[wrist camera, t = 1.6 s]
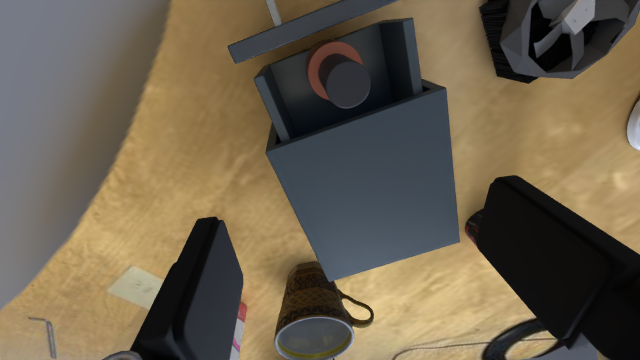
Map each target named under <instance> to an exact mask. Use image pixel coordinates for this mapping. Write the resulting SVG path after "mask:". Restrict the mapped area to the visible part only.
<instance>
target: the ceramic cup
mask: <svg viewBox="0 0 640 360" xmlns="http://www.w3.org/2000/svg"><path fill="white" fill-rule="evenodd" d="M342 299H348V300H350V301H351V302H352V303H354V304H356V305H359V306H361V307H364V308H366V309H367V310H369V311H370V313H371V317H370V318H369V319H368V320H358V319H355V318H353V317H352V316H351V315H350V314H349V312H348V311H347V310H346V309H345V308H344V306H343V303H342ZM373 319H374V313H373V310H372V309H371V308H370V307H369V306H368V305H366V304H364V303H361V302H359V301H356V300H354V299H353V298H351V297H350V296H348V295H345V294H343V293H342V292H341V291H340V290H339V289H337V287H336V284H335V282H334V281H331V282H329V281H328V279H327V277H326V275H325V273H324V271H323V269H322V267H321V265H320V264H319V263H317V262H310V263H306V264H301V265H297V266H296V268H295V269H294V270H293V271H292V272H291V274H290V275H289V276H288V280H287V284H286V289H285V293H284V297H283V302H282V307H281V310H280V313H279V317H278V322H277V326H276V331H275V338H274V345H275V348H276V350H277V351H278V353H279V354H281V355H282V356H283V357H285V358H287V359H289V360H329V359H332V358H335V357H337V356H339V355H341V354H342V353H344V352H345V351H346V350H347V349H348V348H349V347H350V346H351V344H352V343H353V340H354V331H353V329H352V327H353V326H354V327H357V328H365V327H368V326H369V325H371V324H372V322H373Z"/></svg>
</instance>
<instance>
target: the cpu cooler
mask: <svg viewBox="0 0 640 360" xmlns="http://www.w3.org/2000/svg"><path fill="white" fill-rule="evenodd" d="M488 1H489V2H487V3H486V4H484V5H482V6H481V7H479V8H480V11H482V12H480V13H482V14H484V15H482V19H483V20H482V21H483V22H484V23H483V24H484V25H485V26H484V27H485V28H486V29H485V31H487V32H486V33H487V35H486V36H487V37H488V38H487V40H489V42H488V43H489V44H490V45H489V47H490V48H492V49H490V50H491V54H492V58H493V61H495V62H494V66H495V69H496V71H497V72H496V74H497V76H498V77H502V78H507V79H511V80H515V81H519V82H524V83H528V84H529V83H531V82H532V80H535V79H537V78H538V77H549V78H565V79H573V78H574V77H576V76H577V75H579V74H580V73H582V72H583V71H584V70H586V69H587V68H589V67H590V66H591V65H593V64H594V63H596V62H597V61H598V60H600V59H601V58H603V57H604V56H605V55H607V54H608V53H609V51H610V50H611V49H612V48H613V47H614V46H615V45H616V44H617V43H618V42H619V41H620V40H621V39H622V37H623V36H624V35H625V34H626V33H627V32H628V31H629V30H630V29H631V28H632V27H633V26H634V25H635V22H636V19H637V16H638V13H639V11H640V0H488Z"/></svg>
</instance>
